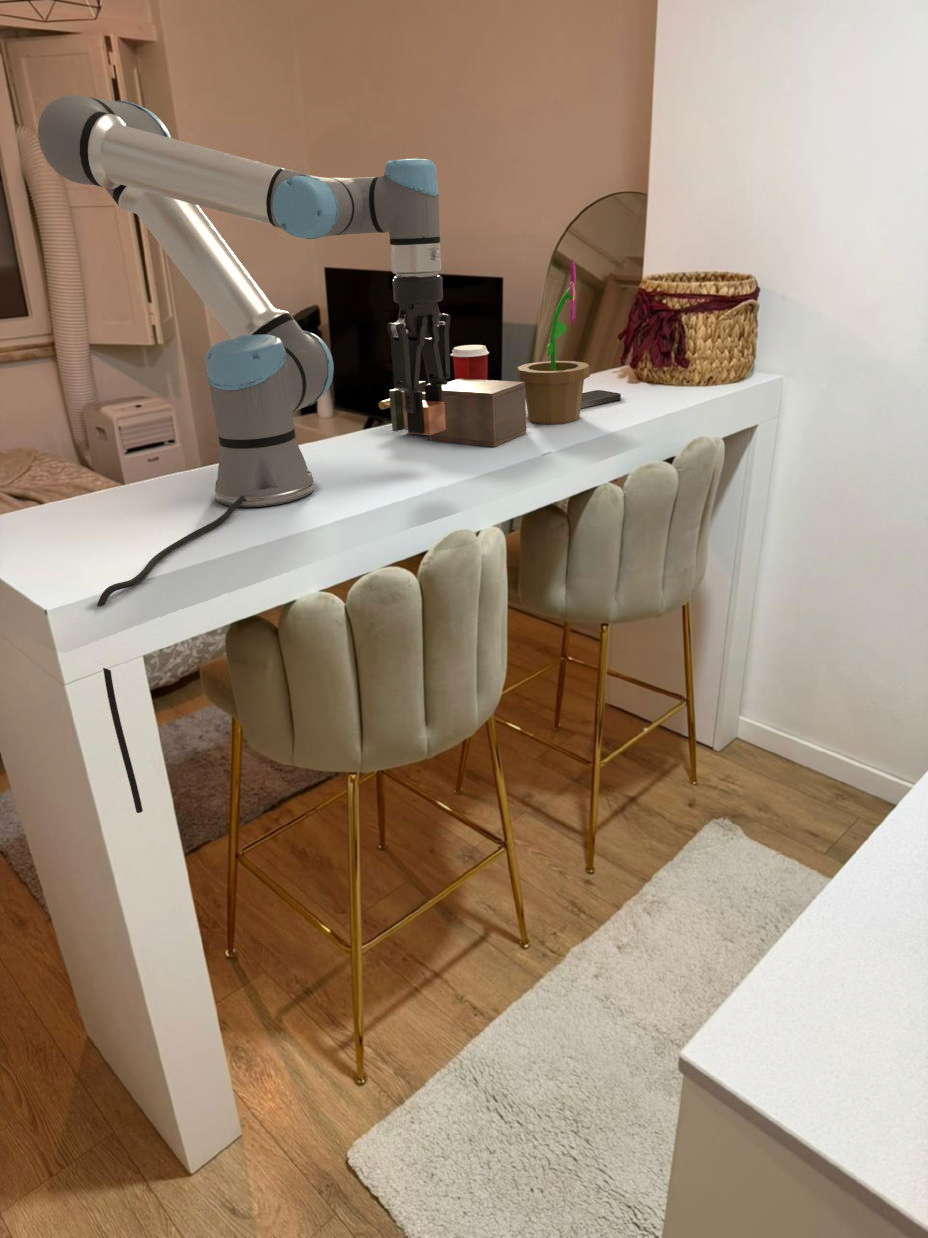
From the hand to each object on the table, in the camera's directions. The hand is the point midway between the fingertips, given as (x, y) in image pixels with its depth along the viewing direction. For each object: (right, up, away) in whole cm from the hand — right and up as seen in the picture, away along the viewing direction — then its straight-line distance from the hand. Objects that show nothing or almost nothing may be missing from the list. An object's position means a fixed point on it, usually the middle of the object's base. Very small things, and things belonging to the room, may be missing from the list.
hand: (425, 428), depth 143 cm
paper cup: (+8, +11, +42) cm, 45 cm away
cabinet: (+9, +4, +25) cm, 27 cm away
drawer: (-1, +7, +31) cm, 32 cm away
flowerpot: (+24, +10, +36) cm, 45 cm away
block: (0, 0, 0) cm, 0 cm away
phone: (+32, +16, +49) cm, 61 cm away
